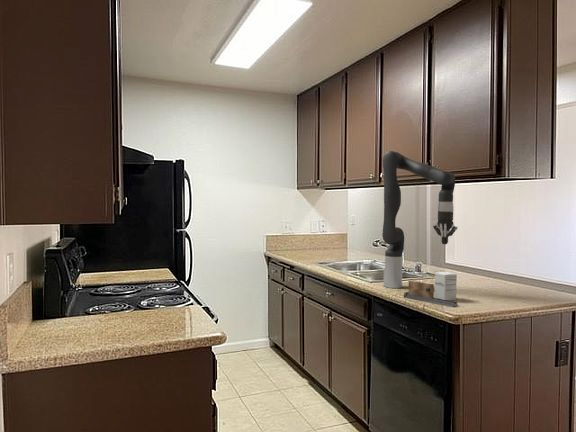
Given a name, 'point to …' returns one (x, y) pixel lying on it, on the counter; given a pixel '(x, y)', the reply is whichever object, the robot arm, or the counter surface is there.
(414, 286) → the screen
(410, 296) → the rail
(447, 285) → the supplement box
